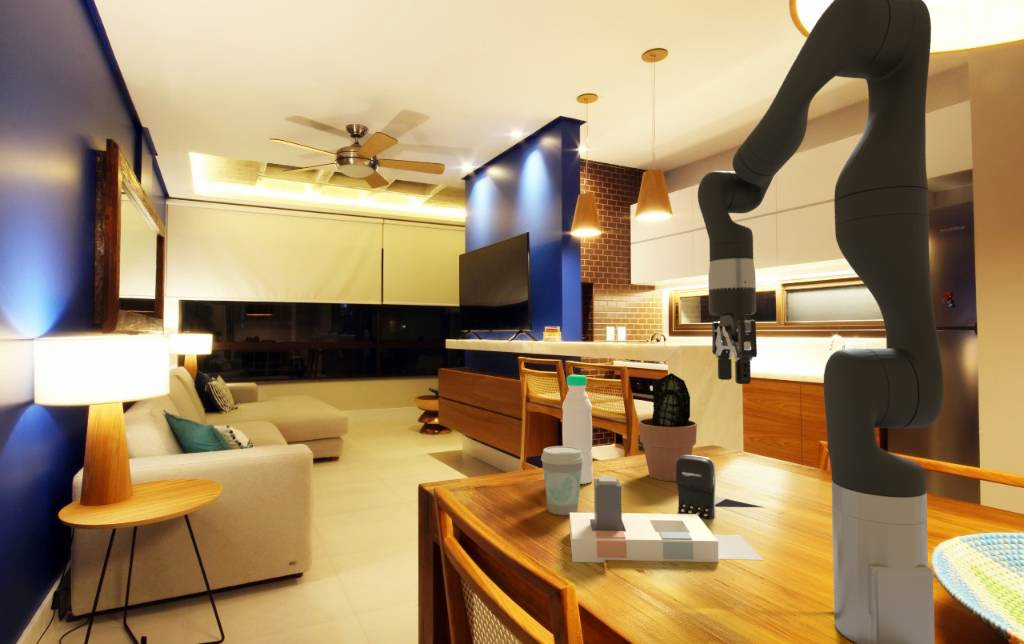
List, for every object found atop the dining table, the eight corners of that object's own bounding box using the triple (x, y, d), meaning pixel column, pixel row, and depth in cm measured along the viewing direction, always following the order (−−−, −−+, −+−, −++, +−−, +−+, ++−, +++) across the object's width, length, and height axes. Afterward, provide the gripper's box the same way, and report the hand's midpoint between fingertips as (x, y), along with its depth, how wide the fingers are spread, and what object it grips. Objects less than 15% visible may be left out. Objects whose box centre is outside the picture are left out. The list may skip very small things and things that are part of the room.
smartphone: (717, 500, 114) (717, 496, 114) (796, 518, 103) (796, 513, 103) (701, 508, 109) (701, 504, 109) (782, 528, 98) (782, 523, 98)
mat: (763, 563, 83) (763, 559, 83) (709, 562, 83) (709, 558, 83) (740, 538, 93) (740, 535, 93) (692, 537, 93) (692, 534, 93)
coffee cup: (534, 513, 106) (533, 452, 106) (551, 501, 113) (551, 443, 114) (575, 520, 102) (574, 456, 102) (590, 507, 109) (589, 447, 110)
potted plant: (628, 471, 136) (627, 372, 137) (675, 467, 140) (674, 370, 141) (659, 486, 123) (657, 376, 124) (709, 481, 127) (708, 374, 128)
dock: (719, 565, 82) (718, 540, 82) (572, 562, 83) (572, 537, 84) (697, 535, 94) (696, 513, 94) (569, 532, 96) (569, 511, 96)
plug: (622, 548, 87) (621, 482, 87) (596, 548, 87) (596, 482, 88) (618, 539, 91) (618, 475, 91) (594, 538, 91) (594, 475, 92)
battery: (673, 516, 103) (672, 456, 104) (680, 511, 106) (679, 452, 107) (711, 524, 99) (710, 461, 99) (717, 518, 102) (716, 457, 103)
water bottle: (557, 479, 130) (556, 375, 130) (582, 475, 133) (581, 373, 133) (572, 486, 124) (571, 377, 124) (598, 483, 127) (597, 375, 127)
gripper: (771, 283, 86) (774, 385, 86) (738, 290, 100) (740, 378, 100) (723, 283, 86) (725, 385, 86) (697, 290, 101) (698, 378, 100)
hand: (733, 381), depth 93 cm, fingers open, 8 cm apart
